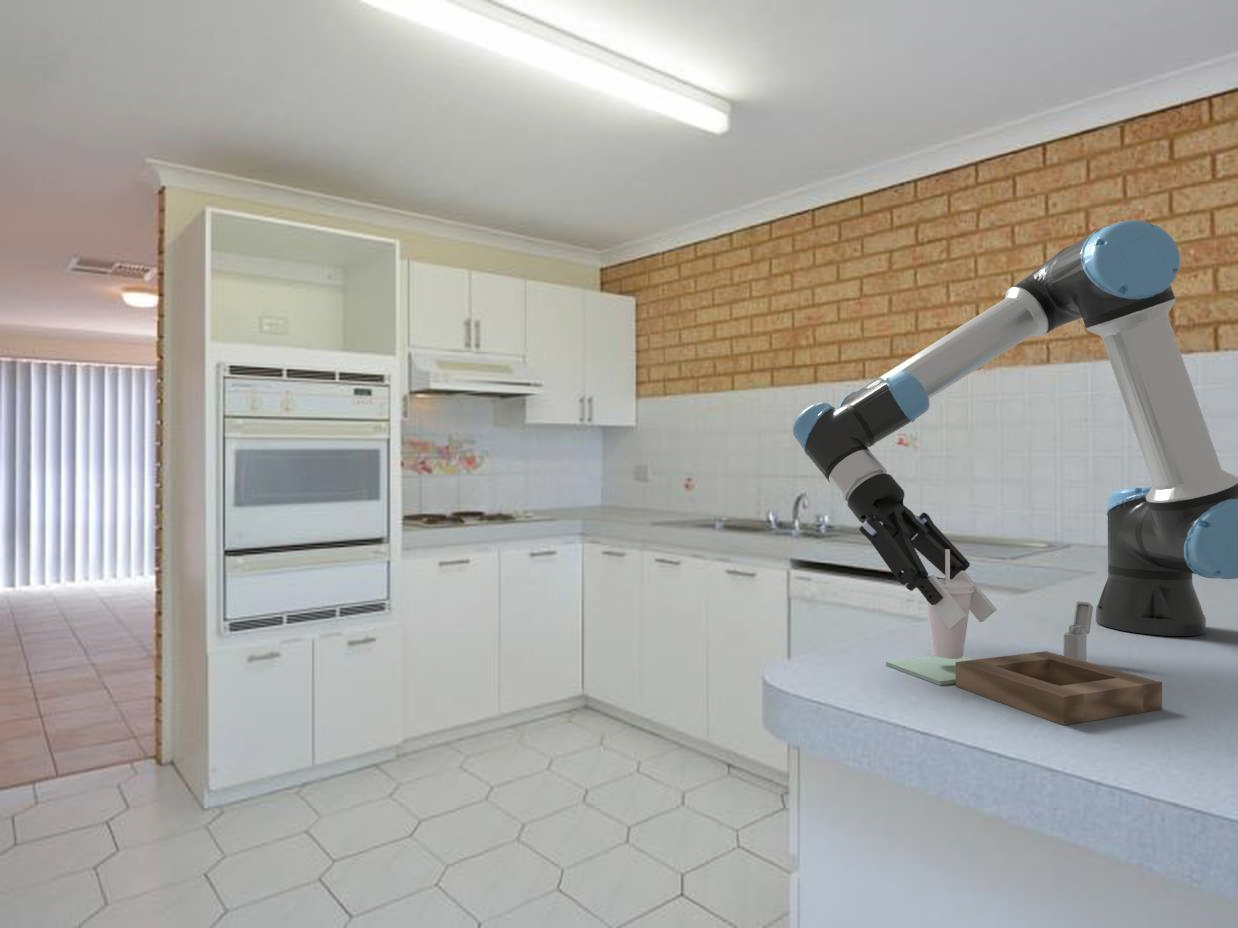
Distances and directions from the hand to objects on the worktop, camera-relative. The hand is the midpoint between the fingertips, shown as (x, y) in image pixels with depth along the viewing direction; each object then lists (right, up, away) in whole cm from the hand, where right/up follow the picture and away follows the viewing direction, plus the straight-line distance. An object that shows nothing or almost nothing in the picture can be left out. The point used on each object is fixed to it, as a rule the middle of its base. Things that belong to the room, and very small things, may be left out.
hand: (973, 618), depth 100 cm
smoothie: (-2, -6, +3) cm, 7 cm away
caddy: (+5, -8, -9) cm, 13 cm away
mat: (-2, -7, +3) cm, 8 cm away
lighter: (+18, -8, +7) cm, 21 cm away
